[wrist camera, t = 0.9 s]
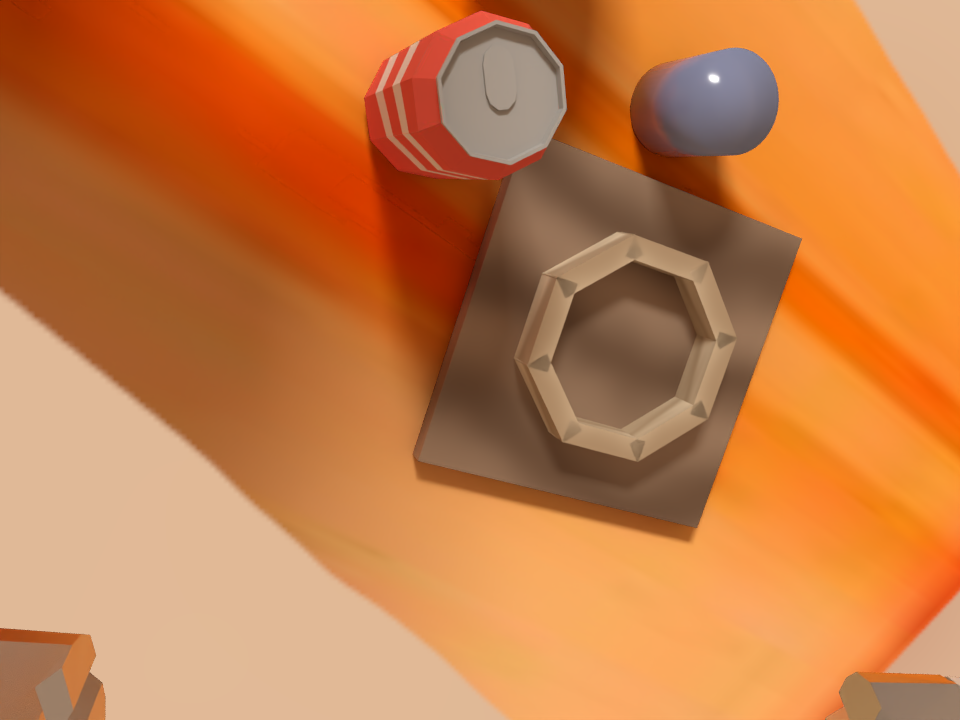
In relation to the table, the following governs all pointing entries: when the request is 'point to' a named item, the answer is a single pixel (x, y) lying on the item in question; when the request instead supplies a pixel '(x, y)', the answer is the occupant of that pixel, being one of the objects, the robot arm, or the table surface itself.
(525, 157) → the beverage can
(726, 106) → the lavender rounded cylinder
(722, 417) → the square plate with ring
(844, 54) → the table surface
